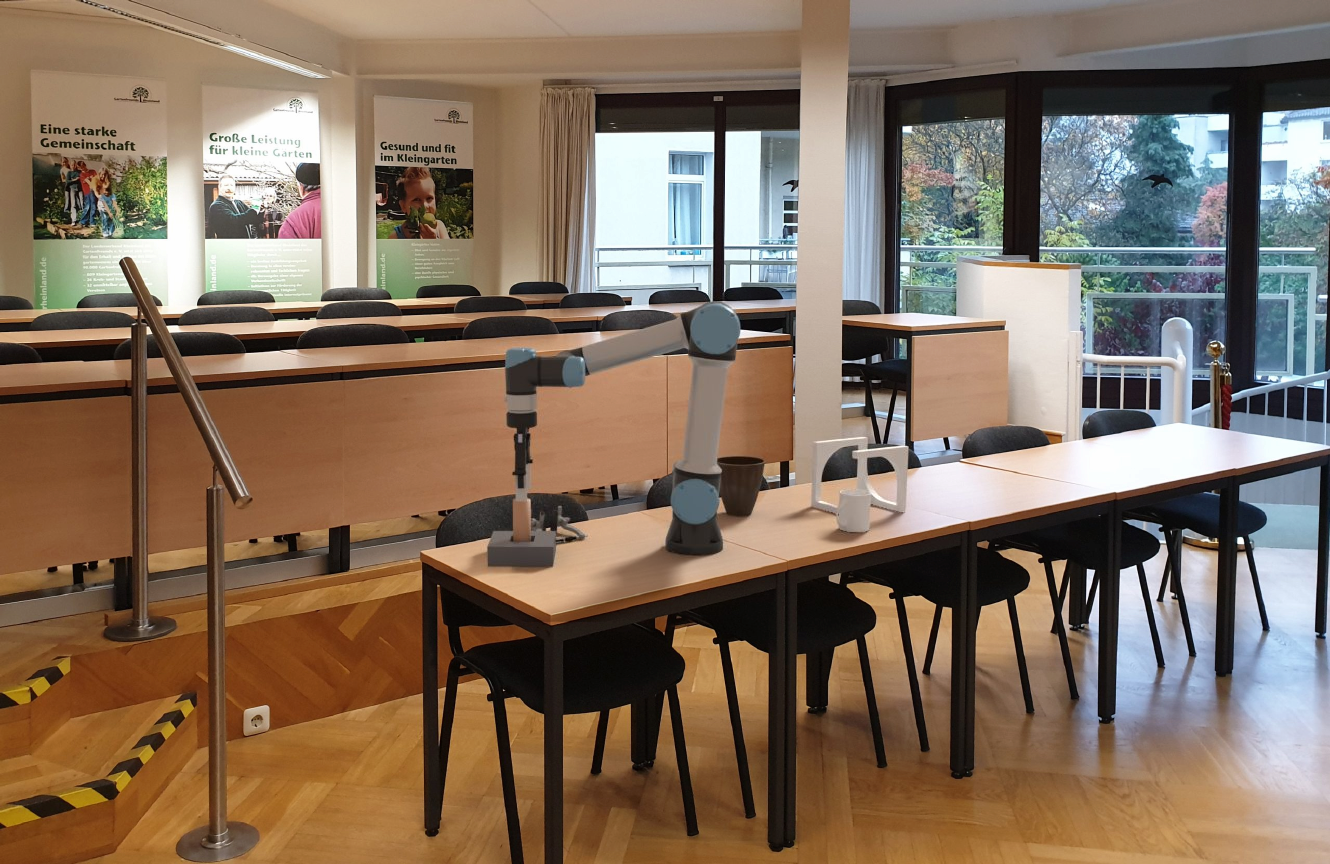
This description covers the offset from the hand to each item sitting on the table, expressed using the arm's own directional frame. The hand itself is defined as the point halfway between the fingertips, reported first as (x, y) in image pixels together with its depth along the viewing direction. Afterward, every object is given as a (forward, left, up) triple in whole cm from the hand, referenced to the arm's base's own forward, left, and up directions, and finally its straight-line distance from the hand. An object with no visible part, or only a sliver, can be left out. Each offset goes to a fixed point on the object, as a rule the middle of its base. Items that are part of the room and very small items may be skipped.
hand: (523, 495), depth 296 cm
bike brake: (-8, -20, -17) cm, 27 cm away
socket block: (0, 0, -16) cm, 16 cm away
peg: (0, 0, -16) cm, 16 cm away
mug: (-89, -29, -16) cm, 95 cm away
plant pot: (-60, -50, -16) cm, 80 cm away
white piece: (-97, -56, -16) cm, 113 cm away
